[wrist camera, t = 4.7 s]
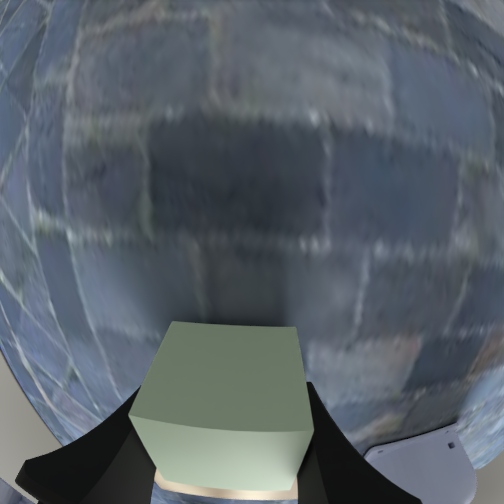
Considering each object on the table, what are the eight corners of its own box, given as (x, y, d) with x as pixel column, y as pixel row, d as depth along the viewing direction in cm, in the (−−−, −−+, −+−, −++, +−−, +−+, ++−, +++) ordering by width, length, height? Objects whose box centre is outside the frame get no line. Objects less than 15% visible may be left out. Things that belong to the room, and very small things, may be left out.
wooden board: (327, 436, 15) (328, 442, 14) (298, 494, 19) (298, 498, 18) (123, 420, 15) (120, 426, 14) (162, 484, 19) (160, 488, 19)
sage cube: (296, 327, 11) (314, 430, 6) (284, 405, 12) (290, 490, 8) (172, 321, 11) (128, 414, 6) (185, 399, 12) (164, 480, 8)
